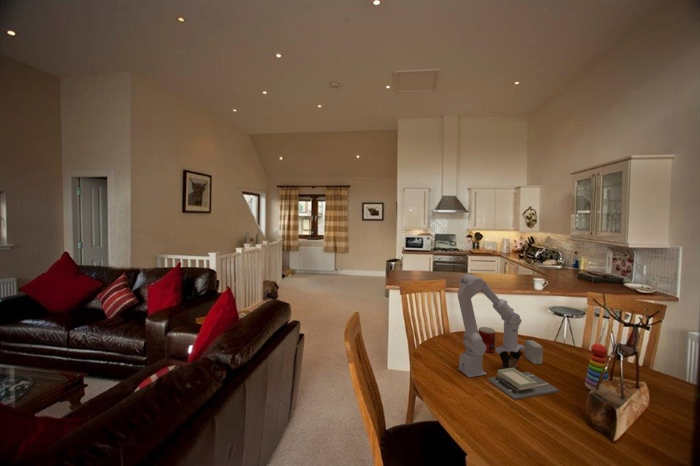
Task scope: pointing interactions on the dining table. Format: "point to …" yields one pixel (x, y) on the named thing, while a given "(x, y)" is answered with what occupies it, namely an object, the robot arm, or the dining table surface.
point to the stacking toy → (596, 366)
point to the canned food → (488, 338)
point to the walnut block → (512, 363)
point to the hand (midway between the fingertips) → (509, 366)
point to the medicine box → (533, 351)
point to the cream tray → (517, 378)
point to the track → (517, 394)
